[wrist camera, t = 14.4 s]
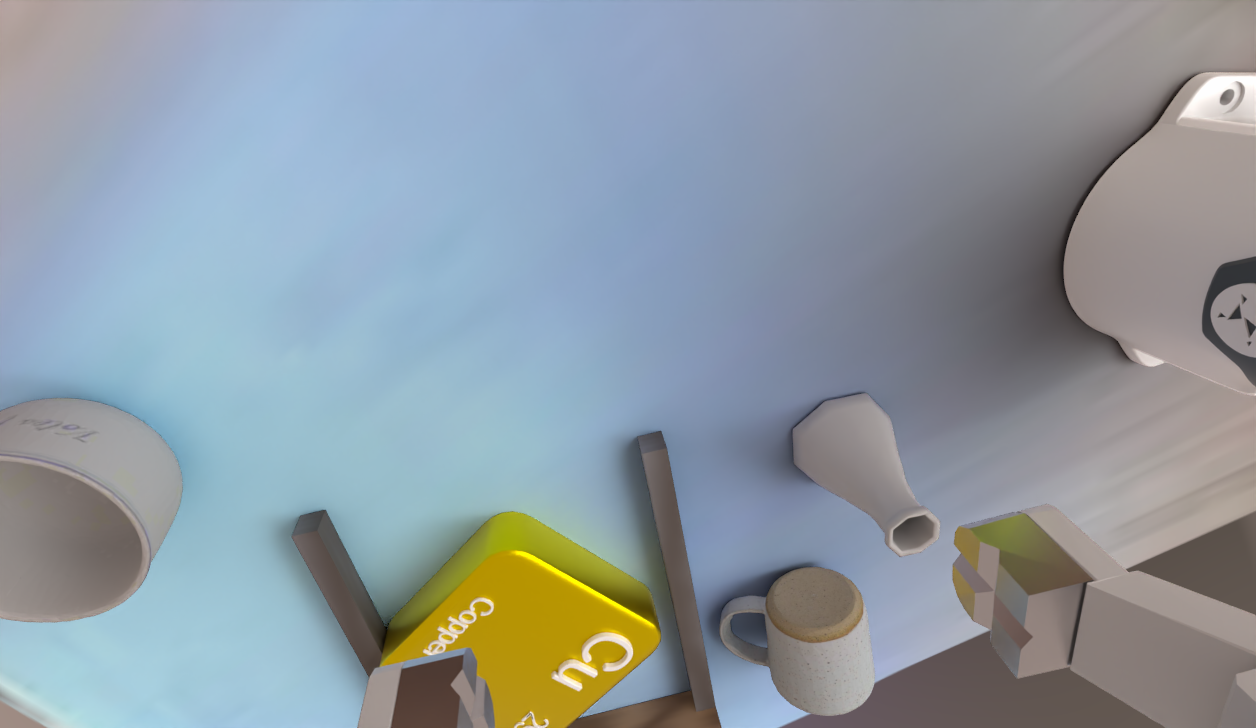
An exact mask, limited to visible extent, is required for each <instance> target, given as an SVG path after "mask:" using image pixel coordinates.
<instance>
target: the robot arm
mask: <svg viewBox="0 0 1256 728" xmlns="http://www.w3.org/2000/svg"><path fill="white" fill-rule="evenodd" d="M1221 95H1222V97H1221ZM1220 97H1221V99H1220ZM1064 283H1065V289H1066V293H1067V296H1068V299H1069V302H1070V304H1071V306H1072V308H1073V309H1074V311H1075V312H1076V314H1077V315H1078V316H1079V317H1080V318H1081V319H1082V320H1083V321H1084V322H1085V323H1086V324H1087V325H1089V326H1090V327H1092V328H1094V329H1095V330H1097V331H1100V332H1102V333H1105V334H1107V335H1109V336H1111V337H1113V338H1115V339H1116V340H1117V341H1118V342H1119V344H1120V345H1121V347H1122V349H1123V350H1124V352H1125V353H1126V355H1127V356H1128V357H1129V358H1130V359H1131V360H1132V361H1134V362H1137V363H1139V364H1142V365H1144V366H1147V367H1153V366H1157V365H1160V364H1162V363H1165V362H1166V363H1169V364H1171V365H1174V366H1176V367H1178V368H1181V369H1183V370H1185V371H1188V372H1190V373H1193V374H1195V375H1197V376H1200V377H1202V378H1205V379H1207V380H1210V381H1212V382H1215V383H1217V384H1220V385H1222V386H1224V387H1227V388H1229V389H1232V390H1234V391H1237V392H1239V393H1242V394H1246V395H1256V72H1206V73H1201V74H1198V75H1196V76H1195V77H1193V78H1192V79H1190V80H1189V81H1188V82H1187V83H1186V84H1185V85H1184V86H1183V88H1182V89H1181V90H1180V91H1179V92H1178V94H1177V95H1176V97H1175V98H1174V99H1173V101H1172V102H1171V104H1170V105H1169V106H1168V108H1167V109H1166V111H1165V112H1164V114H1163V115H1162V117H1161V118H1160V120H1159V121H1158V123H1157V124H1156V125H1155V126H1154V127H1153V128H1152V129H1151V130H1150V131H1149V132H1148V133H1147V134H1146V135H1145V136H1144V137H1142V138H1141V139H1140V140H1139V141H1138V142H1136V143H1135V144H1134V145H1133V146H1132V147H1131V148H1129V149H1128V150H1127V151H1126V152H1125V153H1124V154H1123V155H1122V156H1120V157H1119V158H1118V159H1117V160H1116V161H1115V162H1114V163H1113V164H1112V166H1111V167H1110V168H1109V169H1108V170H1107V171H1106V172H1105V173H1104V175H1103V176H1102V177H1101V178H1100V180H1099V181H1098V182H1097V184H1096V185H1095V186H1094V188H1093V189H1092V191H1091V192H1090V194H1089V195H1088V197H1087V198H1086V200H1085V202H1084V204H1083V205H1082V207H1081V209H1080V211H1079V213H1078V215H1077V217H1076V220H1075V222H1074V224H1073V227H1072V230H1071V232H1070V236H1069V239H1068V242H1067V247H1066V252H1065V258H1064ZM954 545H955V546H956V547H957V548H958V550H959V551H960V552H961V554H960V555H959V557H958V558H957V559H956V561H955V562H954V563H953V583H954V586H955V590H956V593H957V596H958V598H959V600H960V602H961V604H962V606H963V607H964V609H965V610H966V612H967V613H968V614H969V616H970V617H971V619H972V620H973V621H974V622H976V623H978V624H980V625H982V626H984V627H986V628H988V629H990V630H991V640H990V643H991V645H992V646H993V648H994V649H995V650H996V652H997V653H998V654H999V655H1000V657H1001V658H1002V659H1003V661H1004V662H1005V663H1006V664H1007V666H1008V667H1009V668H1010V670H1011V671H1012V672H1013V674H1014V675H1015V676H1016V678H1021V677H1026V676H1030V675H1035V674H1040V673H1044V672H1048V671H1053V670H1057V669H1062V668H1066V667H1071V668H1070V670H1072V671H1073V672H1075V673H1077V674H1078V675H1080V676H1082V677H1083V678H1085V679H1087V680H1088V681H1090V682H1092V683H1093V684H1095V685H1097V686H1098V687H1100V688H1101V689H1103V690H1105V691H1106V692H1108V693H1110V694H1111V695H1113V696H1115V697H1116V698H1118V699H1120V700H1121V701H1123V702H1125V703H1126V704H1128V705H1129V706H1131V707H1133V708H1134V709H1136V710H1138V711H1139V712H1141V713H1143V714H1144V715H1146V716H1148V717H1149V718H1151V719H1153V720H1154V721H1156V722H1157V723H1159V724H1161V725H1163V726H1164V727H1166V728H1256V615H1254V614H1251V613H1249V612H1246V611H1243V610H1241V609H1238V608H1235V607H1232V606H1230V605H1227V604H1225V603H1222V602H1220V601H1217V600H1214V599H1212V598H1209V597H1206V596H1204V595H1201V594H1198V593H1196V592H1193V591H1191V590H1188V589H1185V588H1182V587H1180V586H1177V585H1174V584H1172V583H1169V582H1167V581H1164V580H1161V579H1159V578H1156V577H1154V576H1151V575H1148V574H1146V573H1143V572H1140V571H1135V572H1128V571H1126V570H1125V569H1124V568H1123V567H1122V566H1121V565H1120V564H1119V563H1118V562H1116V561H1115V560H1114V559H1113V558H1112V557H1111V556H1110V555H1109V554H1107V553H1106V552H1105V551H1104V550H1103V549H1102V548H1101V547H1100V546H1098V545H1097V544H1096V543H1095V542H1094V541H1093V540H1092V539H1091V538H1090V537H1088V536H1087V535H1086V534H1085V533H1084V532H1083V531H1082V530H1081V529H1079V528H1078V527H1077V526H1076V525H1075V524H1074V523H1073V522H1072V521H1070V520H1069V519H1068V518H1067V517H1066V516H1065V515H1064V514H1063V513H1062V512H1060V511H1059V510H1058V509H1057V508H1056V507H1054V506H1051V505H1049V504H1045V505H1041V506H1037V507H1033V508H1029V509H1025V510H1021V511H1018V512H1012V513H1008V514H1004V515H1000V516H996V517H992V518H989V519H985V520H981V521H977V522H973V523H969V524H965V525H961V526H959V527H958V529H957V530H956V532H955V539H954ZM357 728H495V719H494V710H493V702H492V698H491V694H490V690H489V688H488V685H487V683H486V681H485V679H483V678H481V677H479V676H477V660H476V658H475V655H474V653H473V651H472V649H471V648H462V649H457V650H453V651H448V652H444V653H439V654H435V655H430V656H425V657H421V658H416V659H412V660H407V661H404V662H400V663H396V664H391V665H387V666H382V667H378V668H375V669H374V671H373V672H372V674H371V676H370V677H369V680H368V684H367V688H366V692H365V697H364V701H363V705H362V709H361V714H360V718H359V722H358V727H357Z"/></svg>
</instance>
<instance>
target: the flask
mask: <svg viewBox="0 0 1256 728" xmlns="http://www.w3.org/2000/svg"><path fill="white" fill-rule="evenodd" d="M793 456H794V464H795V465H796V466H797V467H798V468H799V469H800V470H802V471H803V472H804V473H805V474H806V475H807V476H809V477H810V478H811V479H812V480H813V481H814V482H815V483H817V484H818V485H819V486H821V487H823V488H824V489H826V490H828V491H830V492H831V493H833V494H835V495H837V496H839V497H841V498H843V499H844V500H846V501H848V502H849V503H851V504H853V505H854V506H856V507H858V508H859V509H861V510H862V511H864V512H866V513H867V514H868V515H870V516H871V517H872V518H873V519H874V520H875V521H876V522H877V524H878V525H879V526H880V528H881V529H882V530H883V532H884V533H885V543H886V545H887V546H888V547H889V548H890V549H891V550H892V551H894V552H895V553H896V554H897V555H898V556H899V557H902V556H907V555H911V554H916V553H921V552H922V551H923V550H925V549H926V548H927V547H929V546H930V545H931V544H932V543H934V542H935V541H936V540H938V539H939V529H940V521H939V519H938V518H937V517H936V516H934V515H933V514H932V513H931V512H930V511H929V510H928V509H927V508H926V507H924V506H920V505H919V503H918V502H917V501H916V499H915V497H914V495H913V493H912V491H911V489H910V487H909V485H908V483H907V481H906V478H905V474H904V471H903V467H902V464H901V460H900V457H899V453H898V449H897V445H896V440H895V436H894V431H893V427H892V423H891V420H890V416H889V415H888V414H887V413H886V412H885V411H884V410H883V409H882V408H881V407H880V406H879V405H878V404H877V403H876V402H875V401H874V400H873V399H872V398H871V397H870V396H869V395H868V394H867V393H863V394H858V395H853V396H848V397H843V398H838V399H833V400H828V401H825V402H824V403H822V404H821V405H820V406H819V407H818V408H817V409H815V410H814V411H813V412H812V413H811V414H810V415H809V416H807V417H806V418H805V419H804V420H803V421H802V422H800V423H799V424H798V425H797V426H796V427H795V428H794V429H793Z"/></svg>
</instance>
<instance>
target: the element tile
mask: <svg viewBox="0 0 1256 728" xmlns="http://www.w3.org/2000/svg"><path fill="white" fill-rule="evenodd" d="M660 641H661V631H660V627H659V622H658V618H657V614H656V609H655V605H654V601H653V597H652V594H651V592H650V590H649V589H648V587H647V586H646V585H645V584H643V583H641V582H640V581H638V580H636V579H635V578H633V577H631V576H630V575H628V574H626V573H624V572H623V571H621V570H619V569H618V568H616V567H614V566H613V565H611V564H609V563H608V562H606V561H604V560H603V559H601V558H599V557H598V556H596V555H594V554H593V553H591V552H589V551H588V550H586V549H584V548H583V547H581V546H579V545H578V544H576V543H574V542H573V541H571V540H569V539H568V538H566V537H564V536H563V535H561V534H559V533H558V532H556V531H554V530H553V529H551V528H549V527H548V526H546V525H544V524H543V523H541V522H539V521H538V520H536V519H534V518H533V517H531V516H528V515H526V514H524V513H518V512H513V511H512V512H504V513H500V514H498V515H496V516H494V517H492V518H491V519H489V520H488V521H487V522H485V523H484V524H483V525H482V526H481V527H480V529H479V530H478V531H477V532H476V533H475V534H474V535H473V536H472V537H471V538H470V539H469V540H468V541H467V542H466V543H465V544H464V545H463V546H462V547H461V548H460V549H459V550H458V551H457V552H456V553H455V554H454V555H453V556H452V557H451V558H450V559H449V560H448V561H447V563H446V564H445V565H444V566H443V567H442V568H441V569H440V570H439V571H438V572H437V573H436V574H435V575H434V576H433V577H432V578H431V579H430V580H429V581H428V582H427V583H426V584H425V585H424V586H423V587H422V588H421V589H420V590H419V591H418V592H417V593H416V594H415V595H414V597H413V598H412V599H411V600H410V601H409V602H408V603H407V604H406V605H405V606H404V607H403V608H402V609H401V610H400V611H399V612H398V613H397V614H396V615H395V616H394V617H393V618H392V620H391V621H390V623H389V626H388V630H387V634H386V639H385V643H384V648H383V652H382V657H381V662H380V666H379V667H382V666H387V665H391V664H396V663H400V662H404V661H407V660H412V659H416V658H421V657H425V656H430V655H435V654H439V653H444V652H448V651H453V650H457V649H462V648H471V649H472V651H473V653H474V655H475V658H476V660H477V676H479V677H481V678H483V679H485V681H486V683H487V685H488V688H489V690H490V694H491V698H492V702H493V710H494V719H495V728H567V727H568V726H569V725H570V724H571V723H573V722H574V721H575V720H576V719H577V718H578V717H580V716H581V715H582V714H583V713H584V712H585V711H586V710H588V709H589V708H590V707H591V706H592V705H593V704H594V703H596V702H597V701H598V700H599V699H600V698H601V697H603V696H604V695H605V694H606V693H607V692H608V691H609V690H611V689H612V688H613V687H614V686H615V685H616V684H617V683H619V682H620V681H621V680H622V679H623V678H624V677H626V676H627V675H628V674H629V673H630V672H631V671H632V670H634V669H635V668H636V667H637V666H638V665H639V664H641V663H642V662H643V661H644V660H645V659H646V658H647V657H649V656H650V655H651V654H652V653H653V652H654V651H655V650H656V648H657V647H658V645H659V643H660Z"/></svg>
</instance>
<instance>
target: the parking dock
mask: <svg viewBox="0 0 1256 728" xmlns="http://www.w3.org/2000/svg"><path fill="white" fill-rule="evenodd" d="M637 438H638V442H639V447H640V452H641V457H642V461H643V466H644V471H645V475H646V480H647V485H648V490H649V494H650V499H651V504H652V508H653V513H654V518H655V523H656V527H657V532H658V537H659V542H660V546H661V551H662V556H663V560H664V565H665V570H666V575H667V579H668V584H669V589H670V593H671V598H672V603H673V608H674V612H675V617H676V622H677V627H678V631H679V636H680V641H681V645H682V650H683V655H684V660H685V664H686V669H687V674H688V678H689V683H690V688H691V691H687V692H683V693H679V694H675V695H671V696H667V697H663V698H659V699H655V700H651V701H647V702H643V703H639V704H635V705H631V706H627V707H623V708H619V709H615V710H611V711H607V712H603V713H599V714H595V715H591V716H587V717H583V718H579V719H576V720H575V721H574V722H573V723H571V724H570V725H569V726H568V727H567V728H721V724H720V721H719V717H718V714H717V710H716V706H715V701H714V696H713V690H712V685H711V680H710V674H709V669H708V664H707V658H706V653H705V648H704V643H703V637H702V632H701V627H700V621H699V616H698V611H697V605H696V600H695V595H694V589H693V584H692V579H691V574H690V568H689V563H688V558H687V552H686V547H685V542H684V536H683V531H682V526H681V520H680V515H679V510H678V505H677V499H676V494H675V489H674V483H673V478H672V473H671V467H670V462H669V457H668V452H667V447H666V444H665V441H664V438H663V435H662V432H661V431H659V432H655V433H651V434H647V435H642V436H638V437H637ZM291 537H292V539H293V541H294V542H295V544H296V546H297V548H298V550H299V552H300V553H301V555H302V557H303V559H304V561H305V562H306V564H307V566H308V568H309V570H310V571H311V573H312V575H313V577H314V579H315V580H316V582H317V584H318V586H319V588H320V590H321V591H322V593H323V595H324V597H325V599H326V600H327V602H328V604H329V606H330V608H331V609H332V611H333V613H334V615H335V617H336V618H337V620H338V622H339V624H340V626H341V628H342V629H343V631H344V633H345V635H346V637H347V638H348V640H349V642H350V644H351V646H352V647H353V649H354V651H355V653H356V655H357V656H358V658H359V660H360V662H361V664H362V666H363V667H364V669H365V671H366V673H367V675H368V676H369V677H370V676H371V674H372V672H373V671H374V669H375V668H378V667H379V666H380V662H381V657H382V652H383V648H384V643H385V639H386V634H387V630H386V628H385V626H384V624H383V622H382V620H381V618H380V616H379V614H378V612H377V610H376V609H375V607H374V605H373V603H372V601H371V599H370V597H369V595H368V593H367V591H366V589H365V587H364V585H363V583H362V581H361V579H360V577H359V575H358V573H357V571H356V569H355V567H354V565H353V563H352V561H351V559H350V557H349V555H348V553H347V551H346V549H345V548H344V546H343V544H342V542H341V540H340V538H339V536H338V534H337V532H336V530H335V528H334V526H333V524H332V522H331V520H330V518H329V516H328V514H327V512H326V510H323V511H318V512H314V513H310V514H306V515H301V516H300V518H299V520H298V523H297V525H296V527H295V529H294V532H293V534H292V536H291Z"/></svg>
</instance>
